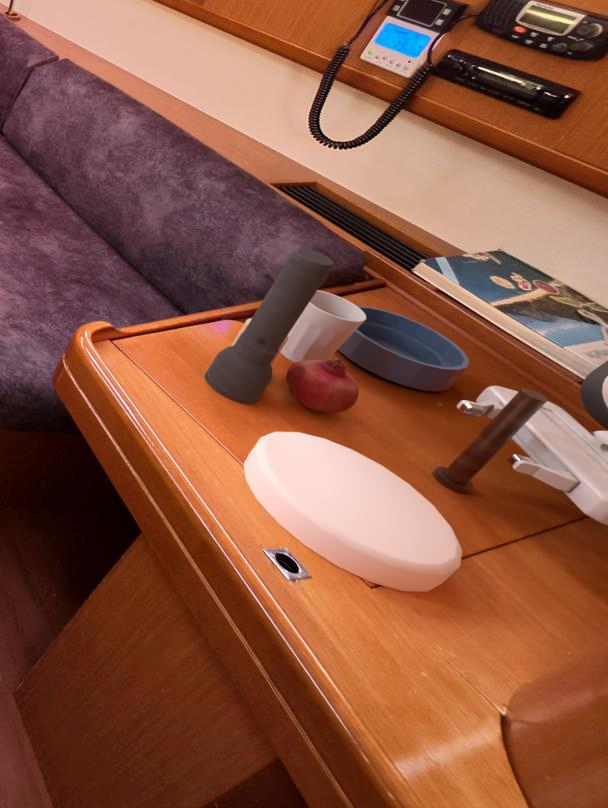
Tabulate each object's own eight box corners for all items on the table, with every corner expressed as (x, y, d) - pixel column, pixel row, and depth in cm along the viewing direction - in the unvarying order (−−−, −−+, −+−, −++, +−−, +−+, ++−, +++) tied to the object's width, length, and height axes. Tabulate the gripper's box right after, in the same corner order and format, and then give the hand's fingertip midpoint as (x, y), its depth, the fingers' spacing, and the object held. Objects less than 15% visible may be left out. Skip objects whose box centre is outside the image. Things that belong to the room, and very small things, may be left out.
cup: (288, 367, 110) (323, 316, 105) (260, 335, 117) (291, 286, 112) (341, 376, 108) (379, 325, 103) (309, 343, 115) (343, 294, 110)
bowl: (435, 356, 113) (455, 332, 111) (458, 410, 103) (481, 384, 100) (321, 317, 122) (337, 294, 119) (331, 363, 111) (349, 338, 108)
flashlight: (194, 372, 108) (233, 405, 102) (270, 243, 96) (320, 273, 90) (229, 368, 109) (269, 402, 103) (309, 241, 97) (360, 270, 91)
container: (211, 438, 96) (224, 418, 94) (356, 459, 94) (373, 439, 92) (312, 576, 79) (331, 554, 77) (494, 607, 76) (519, 586, 74)
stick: (465, 480, 91) (550, 393, 83) (473, 498, 89) (561, 410, 80) (429, 465, 93) (509, 379, 85) (435, 483, 91) (518, 395, 82)
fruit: (355, 430, 98) (390, 386, 94) (294, 418, 100) (326, 374, 96) (321, 390, 105) (352, 348, 101) (264, 379, 107) (293, 337, 103)
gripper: (574, 393, 90) (447, 363, 94) (728, 526, 73) (564, 482, 77) (545, 422, 93) (423, 392, 97) (686, 557, 75) (530, 513, 80)
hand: (486, 433), depth 87 cm, fingers open, 8 cm apart
